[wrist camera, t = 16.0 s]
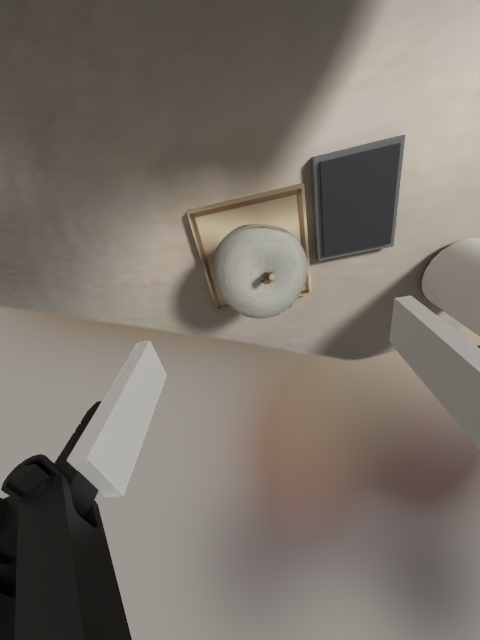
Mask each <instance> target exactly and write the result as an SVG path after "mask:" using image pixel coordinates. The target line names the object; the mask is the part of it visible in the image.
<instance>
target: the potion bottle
mask: <svg viewBox="0 0 480 640" xmlns="http://www.w3.org/2000/svg"><path fill="white" fill-rule="evenodd" d="M422 291H423V293H424V295H425V297H426V298H427V299H428V300H429V301H430V302H432V303H433V304H434V305H436V306H437V307H439V308H440V309H441V310H443V311H444V312H446V313H447V314H449V315H450V316H451V317H453V318H454V319H456V320H457V321H459V322H460V323H461V324H463V325H464V326H466V327H467V328H469V329H470V330H471V331H473V332H474V333H476V334H477V335H479V336H480V238H468V239H465V240H462V241H459V242H456V243H453V244H452V245H450V246H448V247H447V248H445V249H443V250H442V251H441V252H440V253H439V254H438V255H436V256H435V257H434V258H433V259H432V261H431V262H430V263H429V265H428V266H427V268H426V269H425V272H424V275H423V278H422Z"/></svg>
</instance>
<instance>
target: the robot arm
mask: <svg viewBox="0 0 480 640" xmlns="http://www.w3.org/2000/svg"><path fill="white" fill-rule="evenodd" d="M389 342H390V343H391V344H392V345H393V347H394V348H395V349H396V350H397V351H398V353H399V354H400V355H401V356H402V357H403V359H404V360H405V361H406V362H407V363H408V365H409V366H410V367H411V368H412V369H413V371H414V372H415V373H416V374H417V375H418V377H419V378H420V379H421V380H422V381H423V383H424V384H425V385H426V386H427V387H428V389H429V390H430V391H431V392H432V393H433V395H434V396H435V397H436V398H437V399H438V401H439V402H440V403H441V404H442V406H443V407H444V408H445V409H446V410H447V412H448V413H449V414H450V415H451V416H452V418H453V419H454V420H455V421H456V422H457V423H458V425H459V426H460V427H461V428H462V430H463V431H464V432H465V433H466V434H467V436H468V437H469V438H470V439H471V440H472V442H473V443H474V444H475V445H476V446H477V448H478V449H479V450H480V346H476V345H475V344H473V343H472V342H471V341H470V340H468V339H467V338H466V337H464V336H463V335H462V334H460V333H459V332H458V331H457V330H455V329H454V328H453V327H451V326H450V325H449V324H448V323H446V322H445V321H444V320H442V319H441V318H440V317H438V316H437V315H436V314H435V313H433V312H432V311H431V310H429V309H428V308H427V307H425V306H424V305H423V304H422V303H420V302H419V301H418V300H416V299H415V298H414V297H412V296H411V295H410V296H404V297H398V298H395V300H394V308H393V315H392V323H391V331H390V339H389ZM166 378H167V374H166V372H165V370H164V368H163V366H162V364H161V362H160V360H159V358H158V356H157V354H156V352H155V350H154V348H153V346H152V344H151V342H150V341H143V342H137V344H136V345H135V347H134V349H133V350H132V352H131V354H130V355H129V357H128V359H127V360H126V362H125V364H124V365H123V367H122V369H121V370H120V372H119V374H118V375H117V377H116V379H115V380H114V382H113V384H112V385H111V387H110V389H109V390H108V392H107V394H106V395H105V397H104V399H103V400H102V401H100V402H96V403H95V404H94V405H93V406H92V407H91V408H90V409H89V410H88V411H87V413H86V415H85V416H84V418H83V419H82V421H81V424H79V426H78V427H77V429H76V430H75V433H73V435H72V437H71V438H70V440H69V441H68V443H67V445H66V446H65V448H64V449H63V451H62V453H61V454H60V456H59V457H58V459H57V460H56V462H55V464H54V463H53V462H51V461H50V460H49V459H48V458H47V457H46V456H45V455H41V454H40V455H36V456H32V457H30V458H28V459H26V460H25V461H23V462H22V463H21V464H19V465H18V466H17V467H16V468H15V469H14V470H13V471H12V472H11V473H10V474H9V475H8V477H7V478H6V480H5V481H4V483H3V486H2V489H1V490H2V491H3V492H5V493H7V494H8V495H9V497H7V498H4V499H2V498H0V640H132V639H131V635H130V631H129V627H128V623H127V619H126V615H125V611H124V607H123V603H122V599H121V595H120V591H119V587H118V583H117V580H116V576H115V572H114V567H113V564H112V560H111V556H110V552H109V548H108V544H107V540H106V536H105V532H104V528H103V524H102V520H101V516H100V512H99V508H98V505H97V503H96V501H95V500H94V499H95V497H96V495H97V492H98V491H99V492H100V493H101V494H102V495H103V496H104V497H105V498H111V497H122V496H124V493H125V491H126V488H127V485H128V482H129V479H130V477H131V474H132V471H133V469H134V466H135V463H136V460H137V458H138V455H139V452H140V449H141V446H142V444H143V441H144V438H145V435H146V433H147V430H148V427H149V424H150V422H151V419H152V416H153V413H154V411H155V408H156V405H157V402H158V400H159V397H160V394H161V391H162V388H163V386H164V383H165V380H166Z"/></svg>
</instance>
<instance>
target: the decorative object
mask: <svg viewBox="0 0 480 640" xmlns="http://www.w3.org/2000/svg"><path fill="white" fill-rule="evenodd" d="M307 273H308V264H307V258H306V254H305V251H304V249H303V247H302V245H301V243H300V242H299V240H298V239H297V238H296V237H295V236H294V235H293V234H292V233H290V232H289V231H287V230H285V229H282V228H280V227H276V226H270V225H262V224H251V225H242V226H240V227H237V228H236V229H234V230H233V231H231V232H230V233H229V234H227V235H226V236H225V237H224V238H223V240H222V241H221V242H220V244H219V245H218V247H217V249H216V252H215V254H214V258H213V263H212V276H213V282H214V286H215V288H216V291H217V293H218V294H219V296H220V298H221V299H222V300H223V301H224V302H225V303H227V305H229V306H230V307H231V308H232V309H233V310H236V311H237V312H238V313H240V314H242V315H244V316H247V317H251V318H268V317H273V316H276V315H278V314H280V313H281V312H283V311H285V310H286V309H287V308H289V307H291V306H292V304H293V303H294V302H295V301H296V299H297V298H298V297H299V296H300V294H301V292H302V290H303V288H304V285H305V282H306V279H307Z"/></svg>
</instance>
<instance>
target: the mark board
mask: <svg viewBox="0 0 480 640" xmlns="http://www.w3.org/2000/svg"><path fill="white" fill-rule="evenodd" d="M186 212H187V216H188V219H189V223H190V226H191V229H192V233H193V236H194V239H195V243H196V246H197V249H198V253H199V256H200V259H201V263H202V266H203V269H204V273H205V276H206V279H207V283H208V286H209V289H210V293H211V296H212V299H213V303H214V306H215V309H216V312H217V311H222V310H228V309H232V308H231V307H230V306H229V305H227V303H225V302H224V301H223V300H222V299H221V298H220V296H219V294H218V293H217V291H216V288H215V286H214V282H213V276H212V263H213V258H214V254H215V252H216V249H217V247H218V245H219V244H220V242H221V241H222V240H223V238H224V237H225V236H226V235H227V234H229V233H230V232H231V231H233V230H234V229H236V228H237V227H240V226H242V225H251V224H262V225H270V226H276V227H280V228H282V229H285V230H287V231H289V232H290V233H292V234H293V235H294V236H295V237H296V238H297V239H298V240H299V242H300V243H301V245H302V247H303V249H304V251H305V254H306V258H307V264H308V273H307V279H306V282H305V285H304V288H303V290H302V292H301V294H300V296H304V295H309V294H312V290H311V275H310V261H309V246H308V232H307V218H306V203H305V189H304V184H303V183H302V184H297V185H293V186H289V187H285V188H280V189H276V190H272V191H268V192H263V193H259V194H255V195H250V196H246V197H242V198H238V199H233V200H229V201H225V202H221V203H216V204H212V205H208V206H204V207H199V208H195V209H191V210H188V211H186Z"/></svg>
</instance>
